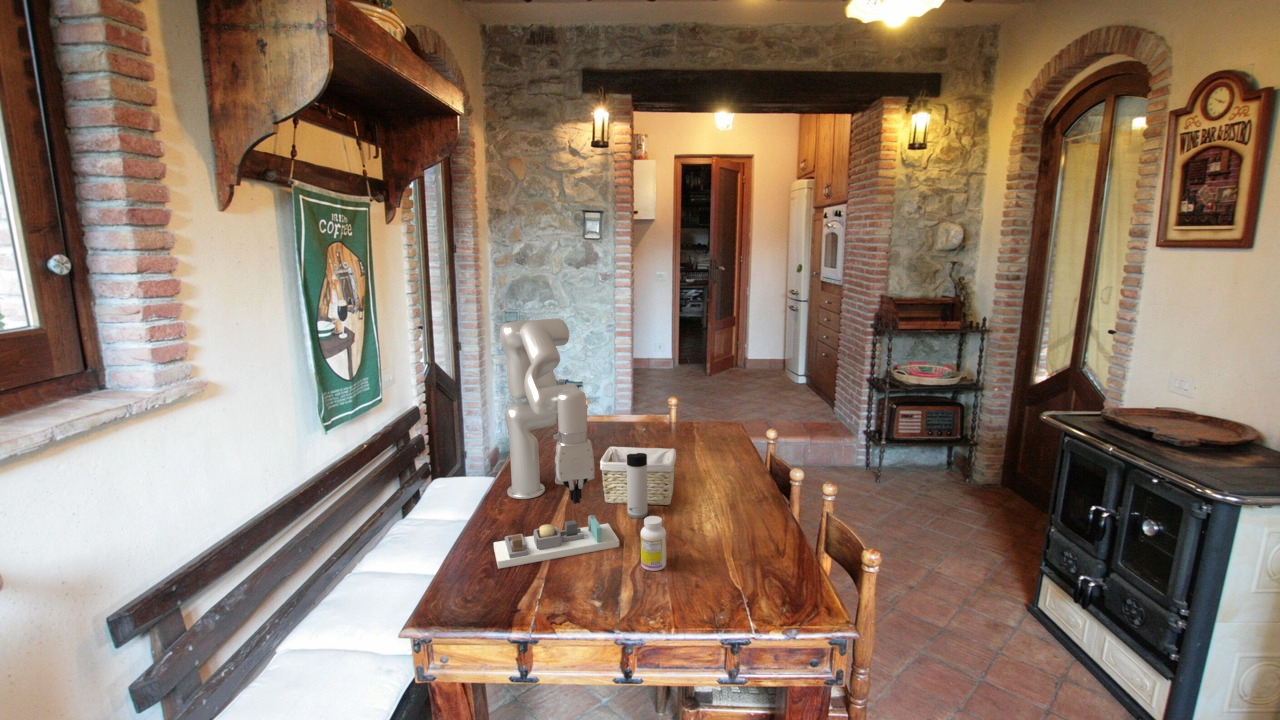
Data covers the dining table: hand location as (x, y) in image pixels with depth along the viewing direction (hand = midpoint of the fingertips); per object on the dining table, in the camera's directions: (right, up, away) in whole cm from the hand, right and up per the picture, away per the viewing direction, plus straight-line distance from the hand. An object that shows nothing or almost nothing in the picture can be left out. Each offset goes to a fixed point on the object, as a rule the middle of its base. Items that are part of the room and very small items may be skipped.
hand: (575, 501), depth 161 cm
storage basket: (+17, -8, +38) cm, 43 cm away
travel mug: (+17, -10, +24) cm, 31 cm away
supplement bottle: (+21, -16, -5) cm, 27 cm away
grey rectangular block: (-2, -11, +6) cm, 13 cm away
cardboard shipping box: (-15, -13, -2) cm, 20 cm away
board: (-6, -14, +4) cm, 16 cm away
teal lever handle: (+5, -11, +7) cm, 14 cm away
